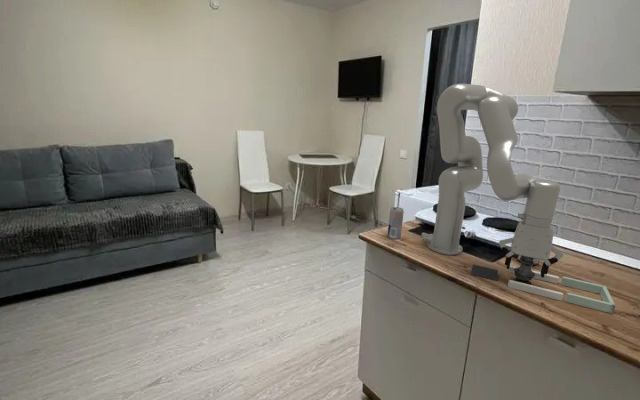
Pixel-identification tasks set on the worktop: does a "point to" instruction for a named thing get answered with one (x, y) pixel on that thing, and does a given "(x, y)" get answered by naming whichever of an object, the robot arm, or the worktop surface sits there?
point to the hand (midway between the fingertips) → (524, 271)
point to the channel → (536, 289)
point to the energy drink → (395, 222)
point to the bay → (604, 305)
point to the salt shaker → (524, 271)
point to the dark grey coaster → (484, 272)
